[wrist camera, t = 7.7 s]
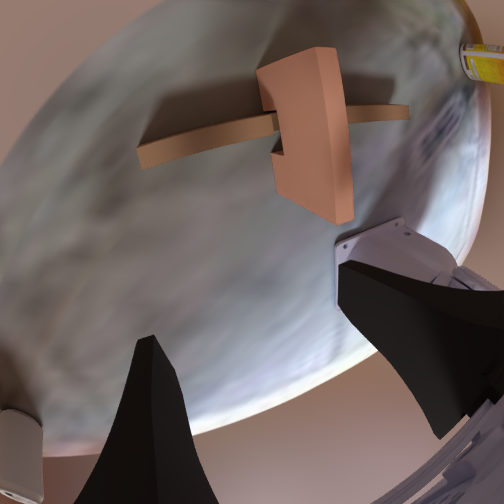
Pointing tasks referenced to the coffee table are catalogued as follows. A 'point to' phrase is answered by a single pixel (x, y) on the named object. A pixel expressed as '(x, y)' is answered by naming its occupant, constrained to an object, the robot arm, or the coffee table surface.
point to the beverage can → (21, 457)
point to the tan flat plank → (311, 132)
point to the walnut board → (247, 132)
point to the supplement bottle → (483, 62)
